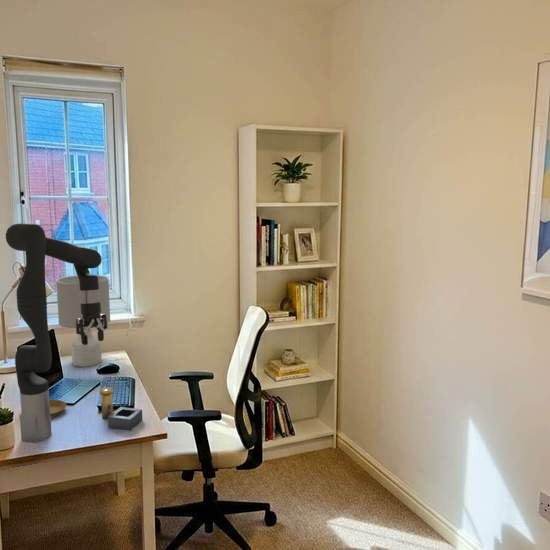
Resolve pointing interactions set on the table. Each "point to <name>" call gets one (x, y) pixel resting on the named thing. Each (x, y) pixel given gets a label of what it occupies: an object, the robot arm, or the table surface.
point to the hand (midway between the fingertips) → (93, 342)
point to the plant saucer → (56, 407)
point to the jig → (125, 418)
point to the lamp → (71, 311)
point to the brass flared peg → (106, 402)
